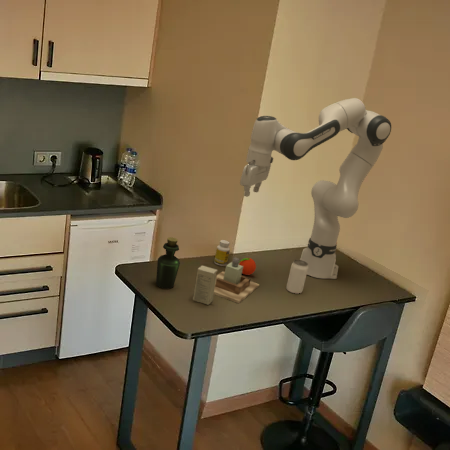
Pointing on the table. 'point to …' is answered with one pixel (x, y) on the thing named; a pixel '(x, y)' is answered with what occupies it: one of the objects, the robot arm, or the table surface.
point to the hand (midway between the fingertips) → (251, 193)
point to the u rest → (234, 288)
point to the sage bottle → (233, 271)
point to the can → (297, 276)
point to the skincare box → (205, 285)
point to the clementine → (248, 266)
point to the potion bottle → (168, 265)
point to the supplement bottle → (222, 253)
